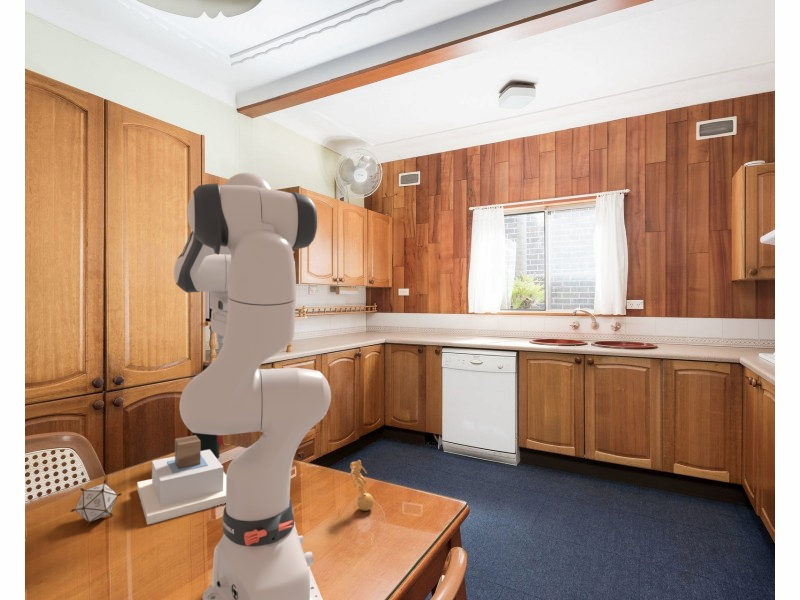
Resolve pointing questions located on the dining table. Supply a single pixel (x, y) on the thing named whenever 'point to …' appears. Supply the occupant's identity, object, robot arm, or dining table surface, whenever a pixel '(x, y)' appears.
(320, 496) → the dining table surface
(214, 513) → the dining table surface
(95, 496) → the game die
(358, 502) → the figurine
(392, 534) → the dining table surface
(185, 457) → the walnut block
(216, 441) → the wine bottle
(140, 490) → the pedestal
